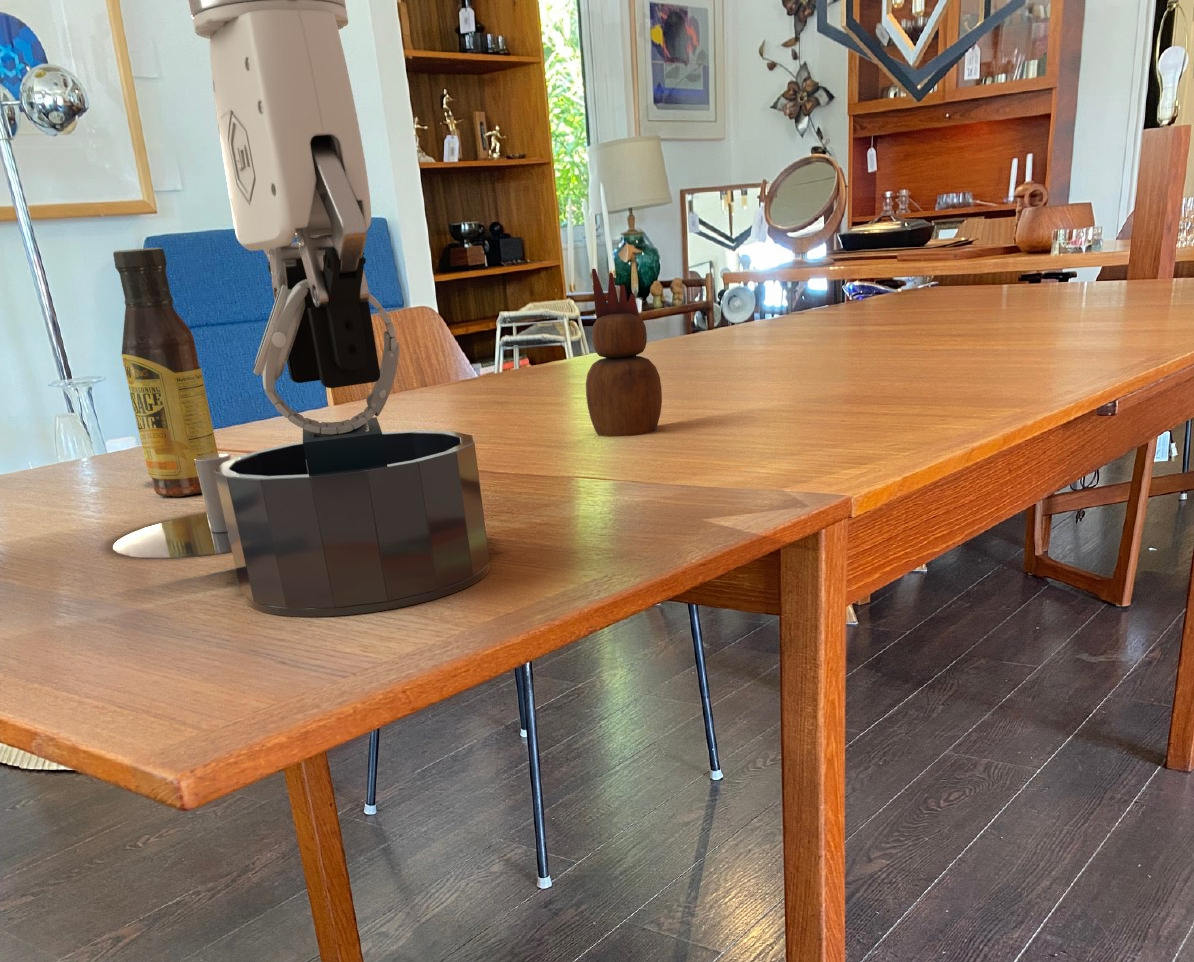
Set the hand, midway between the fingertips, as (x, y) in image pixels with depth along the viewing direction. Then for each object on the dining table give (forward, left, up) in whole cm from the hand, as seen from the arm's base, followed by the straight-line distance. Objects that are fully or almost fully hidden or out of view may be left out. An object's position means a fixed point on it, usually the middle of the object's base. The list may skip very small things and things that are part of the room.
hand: (334, 378), depth 65 cm
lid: (-4, +18, -11) cm, 21 cm away
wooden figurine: (+36, +29, -12) cm, 48 cm away
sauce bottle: (-1, +44, -12) cm, 46 cm away
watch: (0, 0, -6) cm, 6 cm away
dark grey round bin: (0, 0, -12) cm, 12 cm away
